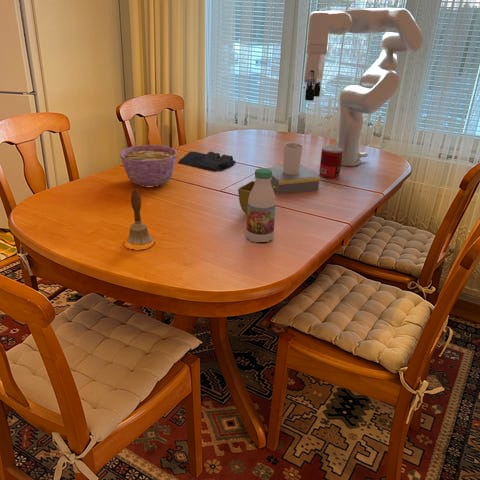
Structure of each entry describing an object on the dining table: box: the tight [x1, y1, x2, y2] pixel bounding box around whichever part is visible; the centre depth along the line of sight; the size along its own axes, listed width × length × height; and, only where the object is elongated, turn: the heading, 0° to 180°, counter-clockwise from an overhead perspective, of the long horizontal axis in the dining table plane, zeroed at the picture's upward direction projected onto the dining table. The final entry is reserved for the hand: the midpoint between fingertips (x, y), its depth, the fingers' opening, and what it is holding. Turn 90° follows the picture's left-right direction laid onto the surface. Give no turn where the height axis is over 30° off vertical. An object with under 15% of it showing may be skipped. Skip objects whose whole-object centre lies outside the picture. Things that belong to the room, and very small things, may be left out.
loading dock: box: [264, 164, 321, 195], centre depth 168 cm, size 16×15×5 cm
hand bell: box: [126, 188, 154, 246], centre depth 121 cm, size 8×8×16 cm
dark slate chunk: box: [177, 151, 237, 173], centre depth 189 cm, size 15×22×5 cm
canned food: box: [318, 145, 343, 179], centre depth 178 cm, size 8×8×11 cm
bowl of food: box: [119, 144, 178, 186], centre depth 164 cm, size 20×20×12 cm
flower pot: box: [237, 180, 275, 215], centre depth 143 cm, size 9×9×9 cm
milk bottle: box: [246, 167, 277, 243], centre depth 125 cm, size 8×8×20 cm
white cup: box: [282, 142, 303, 175], centre depth 165 cm, size 7×7×10 cm
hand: (312, 98), depth 173 cm, fingers open, 9 cm apart
